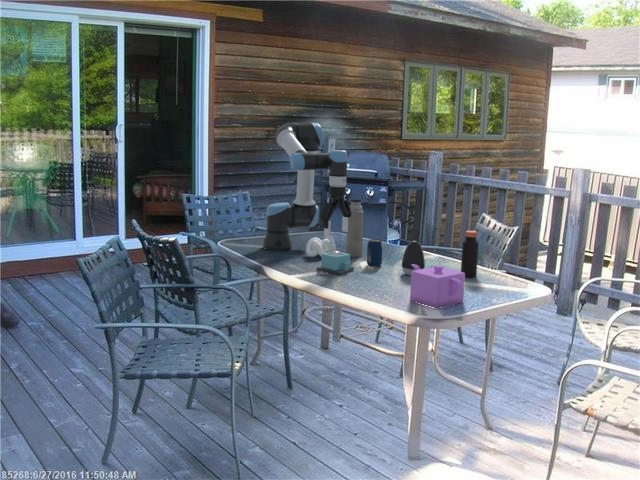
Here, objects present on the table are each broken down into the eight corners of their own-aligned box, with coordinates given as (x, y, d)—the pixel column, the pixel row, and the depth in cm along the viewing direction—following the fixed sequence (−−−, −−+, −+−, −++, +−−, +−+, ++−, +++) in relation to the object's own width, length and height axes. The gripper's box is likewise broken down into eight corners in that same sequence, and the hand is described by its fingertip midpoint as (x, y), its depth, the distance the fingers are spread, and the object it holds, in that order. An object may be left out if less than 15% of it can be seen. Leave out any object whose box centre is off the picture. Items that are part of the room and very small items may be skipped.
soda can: (383, 265, 304) (384, 240, 301) (378, 268, 297) (379, 242, 295) (369, 263, 306) (370, 238, 304) (364, 266, 300) (365, 240, 298)
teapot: (423, 291, 260) (425, 257, 257) (473, 306, 241) (476, 269, 238) (396, 297, 250) (398, 261, 248) (446, 312, 231) (448, 274, 229)
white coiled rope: (301, 257, 316) (301, 239, 314) (310, 253, 327) (311, 235, 325) (322, 260, 312) (323, 241, 310) (331, 255, 322) (332, 237, 321)
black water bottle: (478, 277, 283) (481, 232, 280) (463, 278, 282) (467, 232, 279) (472, 274, 290) (475, 230, 286) (458, 274, 289) (461, 230, 285)
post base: (316, 270, 290) (316, 252, 288) (332, 266, 299) (332, 248, 297) (338, 274, 283) (339, 255, 281) (353, 270, 292) (354, 251, 290)
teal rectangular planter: (354, 268, 289) (354, 255, 288) (340, 271, 283) (340, 258, 281) (331, 263, 298) (331, 250, 297) (317, 265, 292) (317, 252, 291)
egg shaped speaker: (426, 273, 290) (428, 239, 287) (422, 278, 280) (424, 243, 277) (403, 270, 293) (405, 237, 290) (398, 275, 284) (400, 241, 281)
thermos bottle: (346, 253, 328) (348, 198, 323) (362, 253, 327) (364, 198, 322) (345, 256, 320) (347, 200, 315) (361, 257, 320) (363, 200, 314)
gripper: (327, 188, 272) (326, 238, 276) (360, 184, 291) (358, 230, 296) (313, 187, 276) (312, 236, 280) (346, 182, 296) (345, 228, 300)
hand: (336, 233), depth 288 cm, fingers open, 13 cm apart
